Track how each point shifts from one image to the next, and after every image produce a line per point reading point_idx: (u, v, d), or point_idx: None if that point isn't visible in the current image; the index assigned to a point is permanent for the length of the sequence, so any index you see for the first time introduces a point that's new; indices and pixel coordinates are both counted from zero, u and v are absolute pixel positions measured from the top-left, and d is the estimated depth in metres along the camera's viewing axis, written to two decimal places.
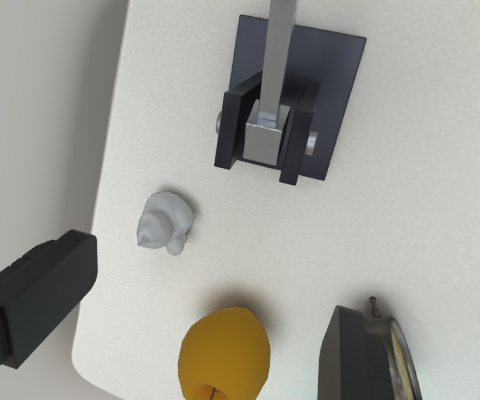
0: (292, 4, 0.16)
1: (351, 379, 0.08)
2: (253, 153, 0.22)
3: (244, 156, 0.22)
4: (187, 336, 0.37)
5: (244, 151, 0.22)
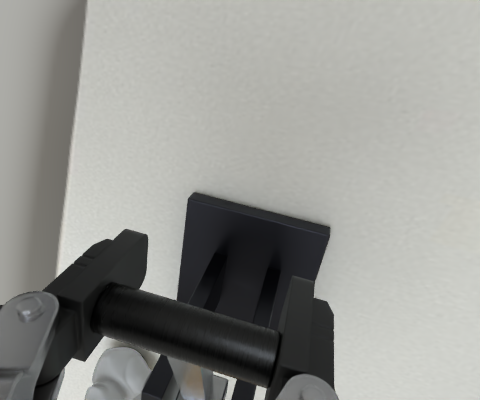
0: (199, 382, 0.12)
1: (293, 334, 0.09)
2: None
3: None
4: None
5: None
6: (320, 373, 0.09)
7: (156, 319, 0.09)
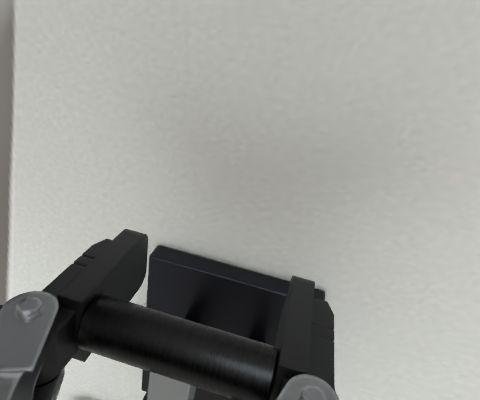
0: None
1: (293, 335, 0.09)
2: None
3: None
4: None
5: None
6: (320, 373, 0.09)
7: (151, 321, 0.09)
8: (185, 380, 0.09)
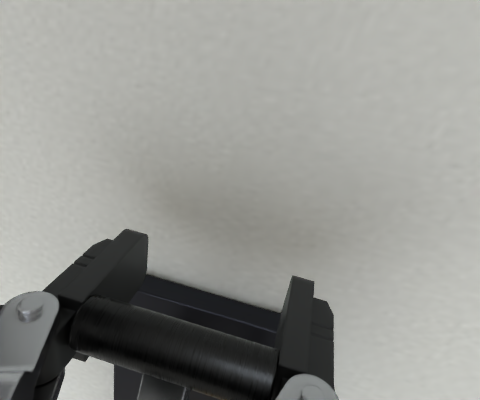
0: None
1: (293, 334, 0.09)
2: None
3: None
4: None
5: None
6: (320, 373, 0.09)
7: (151, 316, 0.09)
8: (182, 377, 0.08)
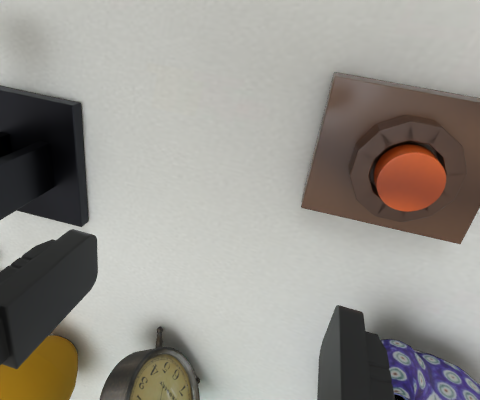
0: None
1: (351, 379, 0.08)
2: None
3: None
4: None
5: None
6: None
7: None
8: None
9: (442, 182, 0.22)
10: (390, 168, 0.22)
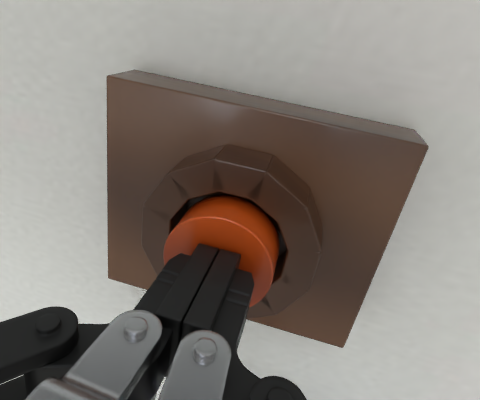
0: None
1: (204, 298, 0.10)
2: None
3: None
4: None
5: None
6: (226, 332, 0.09)
7: None
8: None
9: (266, 270, 0.12)
10: (178, 240, 0.12)
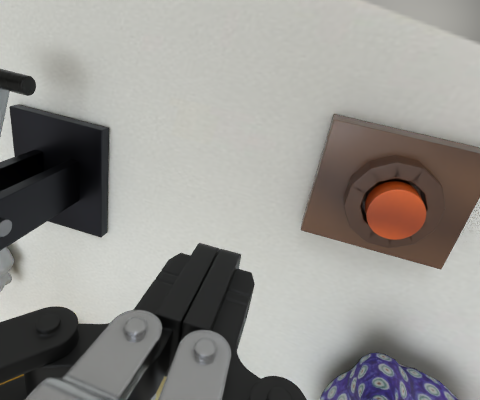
0: None
1: (205, 298, 0.10)
2: None
3: None
4: None
5: None
6: (226, 332, 0.09)
7: None
8: None
9: (423, 216, 0.26)
10: (378, 201, 0.26)
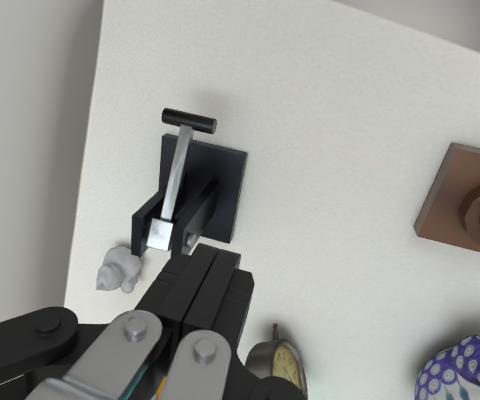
0: (184, 154, 0.34)
1: (205, 298, 0.10)
2: (153, 241, 0.34)
3: (147, 244, 0.34)
4: None
5: (148, 240, 0.34)
6: (226, 332, 0.09)
7: (182, 111, 0.34)
8: (191, 122, 0.33)
9: None
10: None
